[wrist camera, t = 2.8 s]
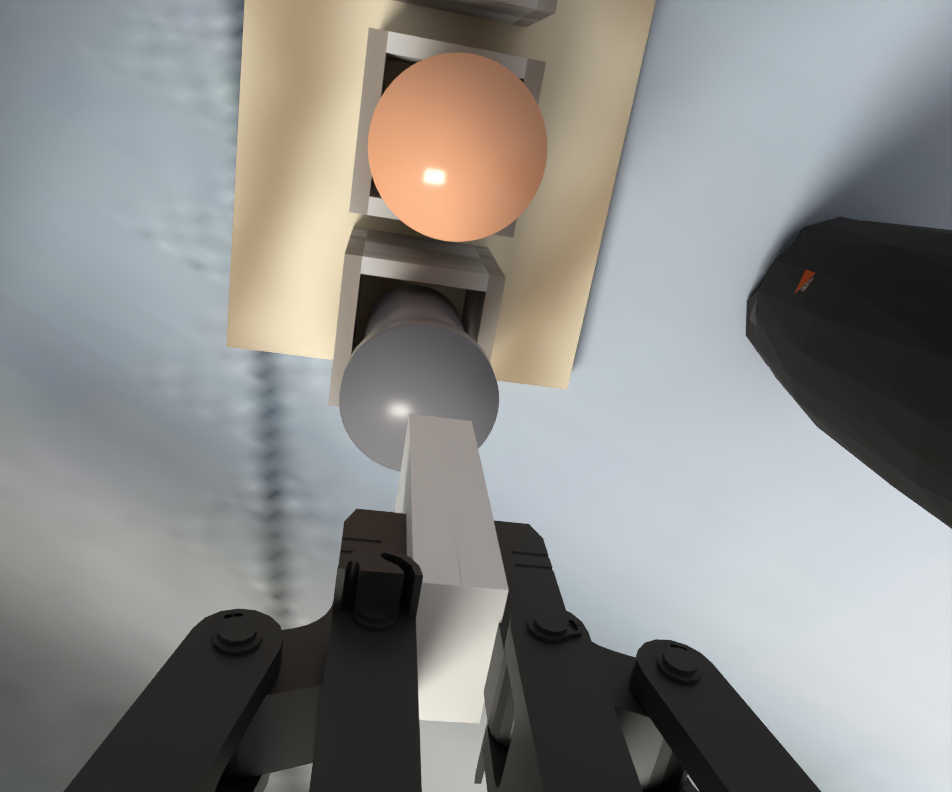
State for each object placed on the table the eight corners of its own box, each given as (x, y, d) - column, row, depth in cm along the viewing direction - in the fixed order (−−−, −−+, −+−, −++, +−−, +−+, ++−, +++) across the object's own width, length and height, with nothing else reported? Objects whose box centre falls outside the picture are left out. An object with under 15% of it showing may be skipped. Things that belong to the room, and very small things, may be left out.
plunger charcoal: (345, 382, 28) (331, 464, 22) (359, 263, 27) (348, 315, 20) (465, 397, 29) (484, 481, 23) (485, 281, 27) (512, 337, 21)
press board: (232, 337, 33) (194, 394, 27) (262, -214, 26) (220, -310, 20) (561, 380, 35) (596, 441, 29) (673, -116, 28) (751, -174, 22)
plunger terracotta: (367, 194, 26) (357, 227, 20) (383, 49, 24) (379, 35, 18) (497, 215, 27) (528, 253, 20) (521, 76, 25) (563, 71, 19)
